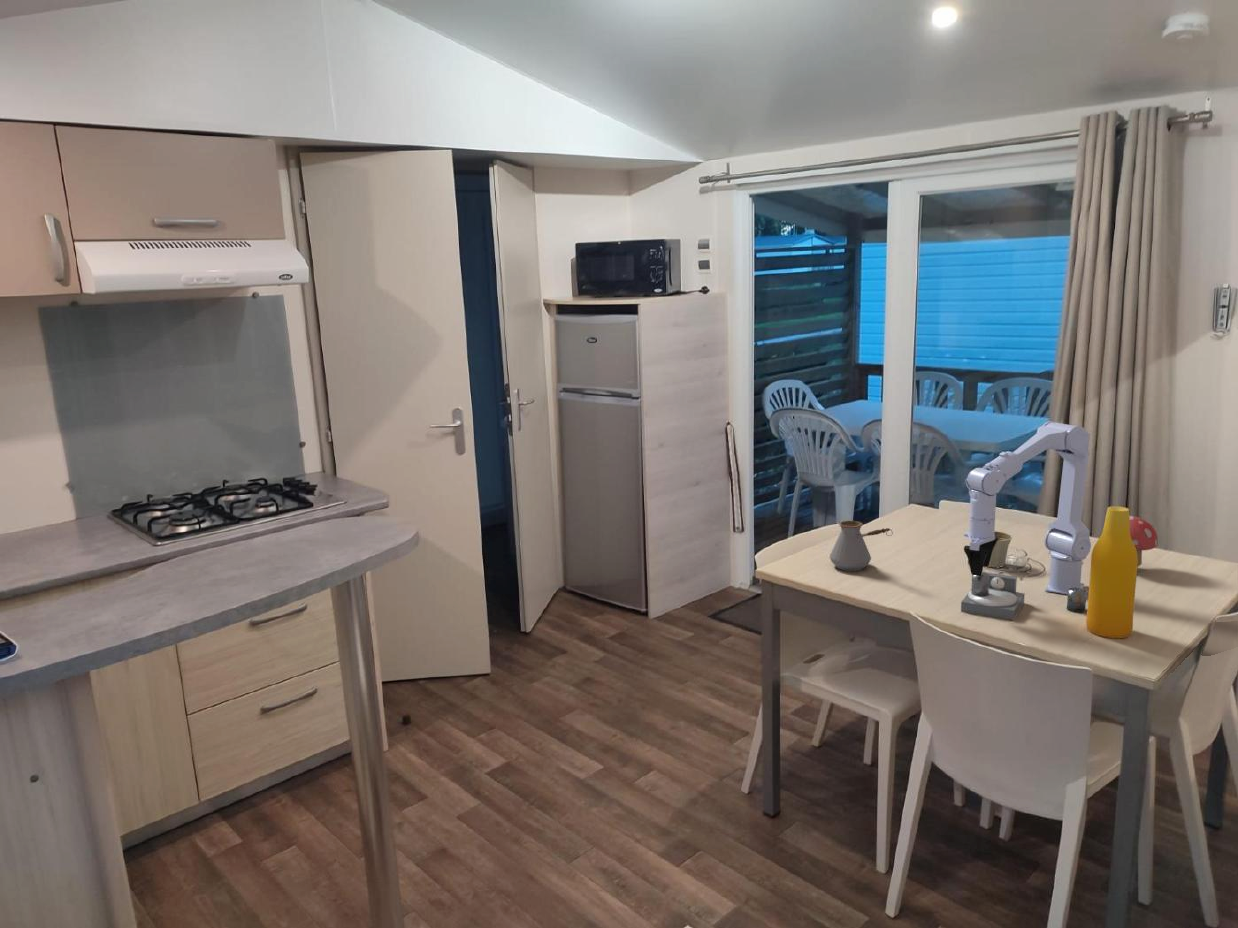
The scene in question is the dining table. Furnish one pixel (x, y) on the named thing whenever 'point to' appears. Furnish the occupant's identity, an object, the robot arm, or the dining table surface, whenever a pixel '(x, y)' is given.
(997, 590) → the dial scale
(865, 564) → the coffee pot
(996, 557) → the flower pot
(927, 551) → the dining table surface
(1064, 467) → the robot arm
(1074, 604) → the cylinder
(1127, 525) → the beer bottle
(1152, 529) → the decorative mushroom
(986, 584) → the ball
